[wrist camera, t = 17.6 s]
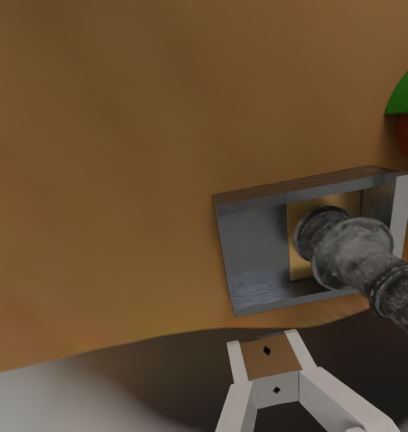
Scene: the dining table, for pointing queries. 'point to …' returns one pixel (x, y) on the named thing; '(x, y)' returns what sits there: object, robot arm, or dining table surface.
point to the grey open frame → (285, 228)
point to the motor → (400, 112)
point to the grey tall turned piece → (355, 259)
